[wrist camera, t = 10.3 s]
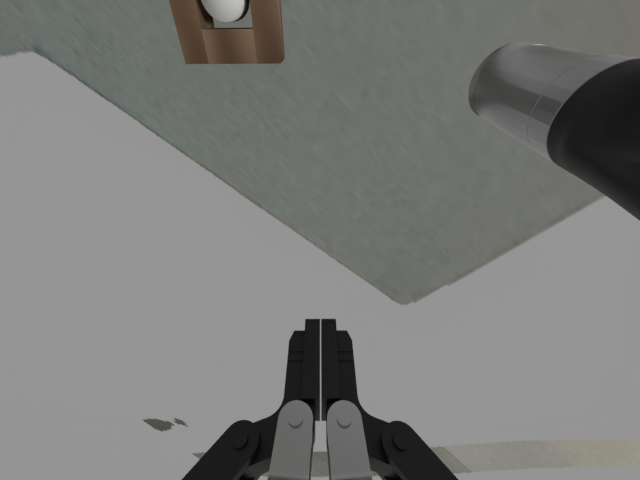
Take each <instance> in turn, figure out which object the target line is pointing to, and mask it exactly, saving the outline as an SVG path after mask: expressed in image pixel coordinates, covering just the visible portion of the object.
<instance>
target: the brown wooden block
mask: <svg viewBox="0 0 640 480" xmlns="http://www.w3.org/2000/svg"><path fill="white" fill-rule="evenodd" d="M249 1H250V9H251V17H252V25H253V28H215V26H214V21H213V17H212V16H211V15H210V14H209V13H208V12H207V11H206V9H205V7H204V6H203V4H202V1H201V0H169V3H170V7H171V11H172V14H173V18H174V22H175V26H176V30H177V34H178V37H179V41H180V45H181V49H182V53H183V56H184V60H185V64H281V63H282V61H283V60H284V59H285V54H284V40H283V26H282V12H281V0H249Z"/></svg>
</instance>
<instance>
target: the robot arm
mask: <svg viewBox="0 0 640 480" xmlns="http://www.w3.org/2000/svg"><path fill="white" fill-rule="evenodd" d="M468 100H469V104H470V107H471V109H472V110H473V112H474V113H475V114H476V115H478V116H479V117H481V118H482V119H484V120H486V121H487V122H489V123H490V124H492V125H493V126H495V127H497V128H498V129H500V130H501V131H503V132H505V133H506V134H508V135H509V136H511V137H513V138H514V139H516V140H517V141H519V142H521V143H522V144H524V145H525V146H527V147H529V148H530V149H532V150H533V151H535V152H537V153H538V154H540V155H542V156H543V157H545V158H547V159H548V160H550V161H551V162H553V163H555V164H556V165H558V166H559V167H561V168H563V169H565V170H566V171H568V172H570V173H571V174H573V175H575V176H576V177H578V178H580V179H581V180H583V181H584V182H586V183H588V184H589V185H591V186H592V187H594V188H595V189H597V190H598V191H600V192H601V193H603V194H604V195H605V196H607V197H608V198H610V199H611V200H613V201H614V202H615V203H617V204H618V205H619V206H621V207H622V208H623V209H625V210H626V211H627V212H629V213H630V214H631V215H633V216H634V217H635V218H637V219H638V220H639V221H640V57H632V56H624V55H616V54H607V53H599V52H592V51H584V50H577V49H569V48H561V47H554V46H546V45H540V44H532V43H524V42H515V43H510V44H507V45H504V46H502V47H500V48H498V49H497V50H495V51H494V52H492V53H491V54H490V55H489V56H488V57H487V58H485V59H484V60H483V62H482V63H481V64H480V65H479V67H478V68H477V70H476V72H475V73H474V75H473V77H472V80H471V82H470V86H469V91H468ZM315 421H320V319H305V331H294V332H293V334H292V336H291V338H290V340H289V347H288V358H287V368H286V379H285V389H284V398H283V401H282V404H281V406H280V407H279V409H278V410H277V411H276V412H275V413H274V414H272V415H271V416H269V417H266V418H264V419H261V420H259V421H256V422H254V423H252V422H251V421H249V420H239V421H237V422H235V423H233V424H232V425H231V426H230V427H229V428H228V429H227V430H226V431H225V432H224V433H223V434H222V435H221V436H220V438H219V439H218V440H217V441H216V442H215V443H214V444H213V445H212V446H211V448H210V449H209V450H208V451H207V452H206V453H205V454H204V455H203V456H202V457H201V459H200V460H199V461H198V462H197V463H196V464H195V465H194V466H193V467H192V469H191V470H190V471H189V472H188V473H187V474H186V475H185V476H184V477H183V479H182V480H258V479H259V478H260V476H261V475H262V474H264V473H266V472H268V471H269V475H268V479H267V480H311V474H312V461H313V448H314V443H315ZM321 421H326V448H327V461H328V474H329V480H373V479H372V475H371V471H374V472H376V473H378V475H379V476H380V477H381V479H382V480H458V479H457V477H456V476H455V475H454V474H453V473H452V472H451V471H450V470H449V469H448V467H447V466H446V465H445V464H444V463H443V462H442V461H441V460H440V459H439V457H438V456H437V455H436V454H435V453H434V452H433V451H432V450H431V449H430V448H429V446H428V445H427V444H426V443H425V442H424V441H423V440H422V439H421V438H420V436H419V435H418V434H417V433H416V432H415V431H414V430H413V429H412V428H411V427H410V426H409V425H408V424H406V423H404V422H402V421H392V422H390V423H388V422H386V421H383V420H381V419H378V418H376V417H373V416H371V415H370V414H368V413H367V412H366V411H365V410H364V409H363V408H362V406H361V404H360V402H359V399H358V394H357V384H356V374H355V364H354V354H353V344H352V339H351V337H350V335H349V333H348V332H347V330H337V328H336V319H321Z"/></svg>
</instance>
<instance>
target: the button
mask: <svg viewBox="0 0 640 480" xmlns="http://www.w3.org/2000/svg"><path fill="white" fill-rule="evenodd" d="M201 1H202V4H203V6H204V7H205V9H206V11H207V12H208V13H209V14H210V15H211V16H212V17H213V18H215V19H216V20H218V21H221V22H235V21H239V20H241V19H242V18H244V17H245V15H246V14H247V12H248V9H249V4H250V1H249V0H201Z"/></svg>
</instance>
